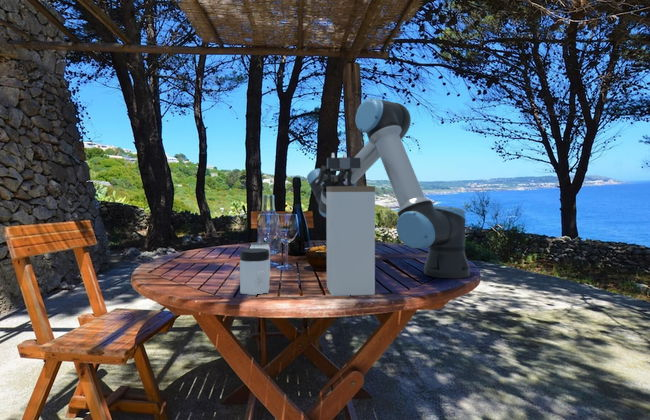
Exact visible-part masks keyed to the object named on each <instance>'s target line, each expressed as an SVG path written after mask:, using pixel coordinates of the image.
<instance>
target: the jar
mask: <svg viewBox="0 0 650 420" xmlns="http://www.w3.org/2000/svg"><path fill="white" fill-rule="evenodd" d="M239 252H240V253H239V254H240V255H239V256H240V260H239V284H240V285H239V289H240V290H239V293H240V294H242V295H246V294H247V295H248V296H258V295H257V294H260V295H264V294H263V293H267V294H269V292H270V279H269V250H268V249H262V248H251V249H250V248H244V249H241V250H240V251H239Z"/></svg>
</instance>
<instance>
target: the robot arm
mask: <svg viewBox="0 0 650 420" xmlns="http://www.w3.org/2000/svg"><path fill="white" fill-rule="evenodd" d="M411 121H412V119H411V114H410V112H409V109H408V108H407V107H406V106H404V104H402V103H399V102H392V101H388V100H384V99H381V98H378V97H377V98H373V97H372V98H367V99H365V100H364V101H362V102H361V103H360V105H359V106H358V107H357V110H356V114H355V126H356V128H357V129H358V130H359V131H360V132H362V133H364V134H366V135H367V138H368V140H369V141H367V143H366V144H365V145H364V146H363V147H362V148H361V149H360V151H359V152H358V153H356V155H355V156H354V157H353V158H360V168H359V169H345V170H342V171H338V173H337V174H332V172H334V171H333V169H327V165H320V168H315V169H312V170H311V171H310V172H309V173H308V174H307V176H306V179H307V183H308V184H309V185H308V186H310V189H311V190H312V192H313V195H314V196H315V200H316V202H317V204H318V211H319V214H320V215H321V216H322V217H324V218H326V187H330V186H357V182H358V181H359V179H361V177H363V176H364V175H365V173H367V171H369V169H371V167H372V166H374V164H375V163H376V162H377V161H379V159H380V160H381V162H382V165H383V168H384V170H385V173H386V176H387V177H388V180H389V184H390V186H391V188H392V190H393V193H394V196H395V198H396V200H397V203H398V206H399V209H398V211H397V218H398V219H397V220H396V223H397V224H396V225H395V226H396V227H395V228H396V234H397V237H398V238H399V240H400V241H401V243H402V244H403V245H405V246H407V247H409V248H412V249H427V248H428V249H429V250H428V254H427V257H426V261H425V263H424V267H423V275H425V276H429V277H434V278H440V279H464V278H469V277H470V276H471V275H470V273H471V269H470V265H469V263H468V258H467V255H466V253H465V252H466V251H465V248H466V247H465V246H466V245H465V244H466V243H465V242H466V239H465V238H466V220H467V219H466V213H465V210H464V209H463V208H461V207H456V206H445V205H444V206H443V205H434V204H433V201H432V200H431V199H429V198H426V197H425V194H424V192H423V190H422V187H421V184H420V182H419V180H418V177H417V175H416V173H415V170H414V168H413V165H412V163H411V161H410V158H409V156H408V153H407V152H406V148H405V145H404V143H403V141H402V139H403V138H404V137H405V136H406V135H407V133H408V132H409V130H410V128H411ZM342 157H347V153H346V152H343V153H342ZM330 158H336V156H335V152H331V156H330Z"/></svg>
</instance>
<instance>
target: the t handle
mask: <svg viewBox="0 0 650 420" xmlns="http://www.w3.org/2000/svg"><path fill="white" fill-rule="evenodd" d="M326 166H327V169H333V171H332V172H340V171H342V170H345V169H359V168H360V158H354V157H347V156H346V157H343V156H342V157H341V156H339V157H335V158H331V157H327V158H326Z"/></svg>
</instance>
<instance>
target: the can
mask: <svg viewBox="0 0 650 420" xmlns="http://www.w3.org/2000/svg"><path fill="white" fill-rule="evenodd" d="M251 248H262V249H268V250H269V280H271V250H270V249H271V248H270V245H269V242H266V241H256V242H250V247H249V249H251Z"/></svg>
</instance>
